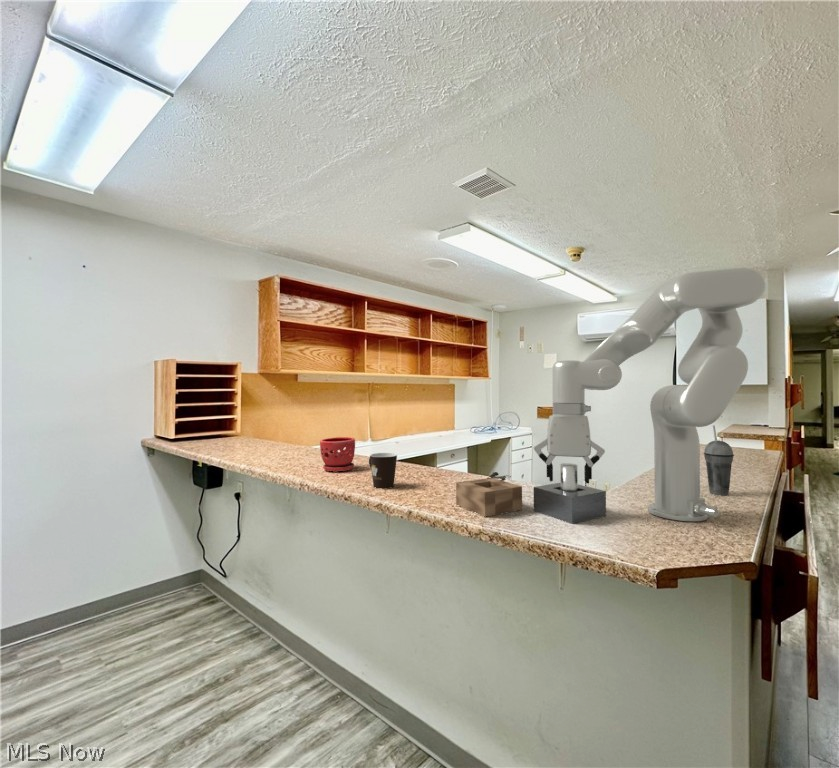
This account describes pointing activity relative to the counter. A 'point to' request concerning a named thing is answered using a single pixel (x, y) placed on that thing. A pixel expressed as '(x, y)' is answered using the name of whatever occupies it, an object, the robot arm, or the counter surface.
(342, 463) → the plant pot
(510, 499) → the block
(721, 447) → the beverage cup
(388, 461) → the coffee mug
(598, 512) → the socket block
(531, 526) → the counter surface
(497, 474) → the hacksaw
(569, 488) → the silver metal cylinder
